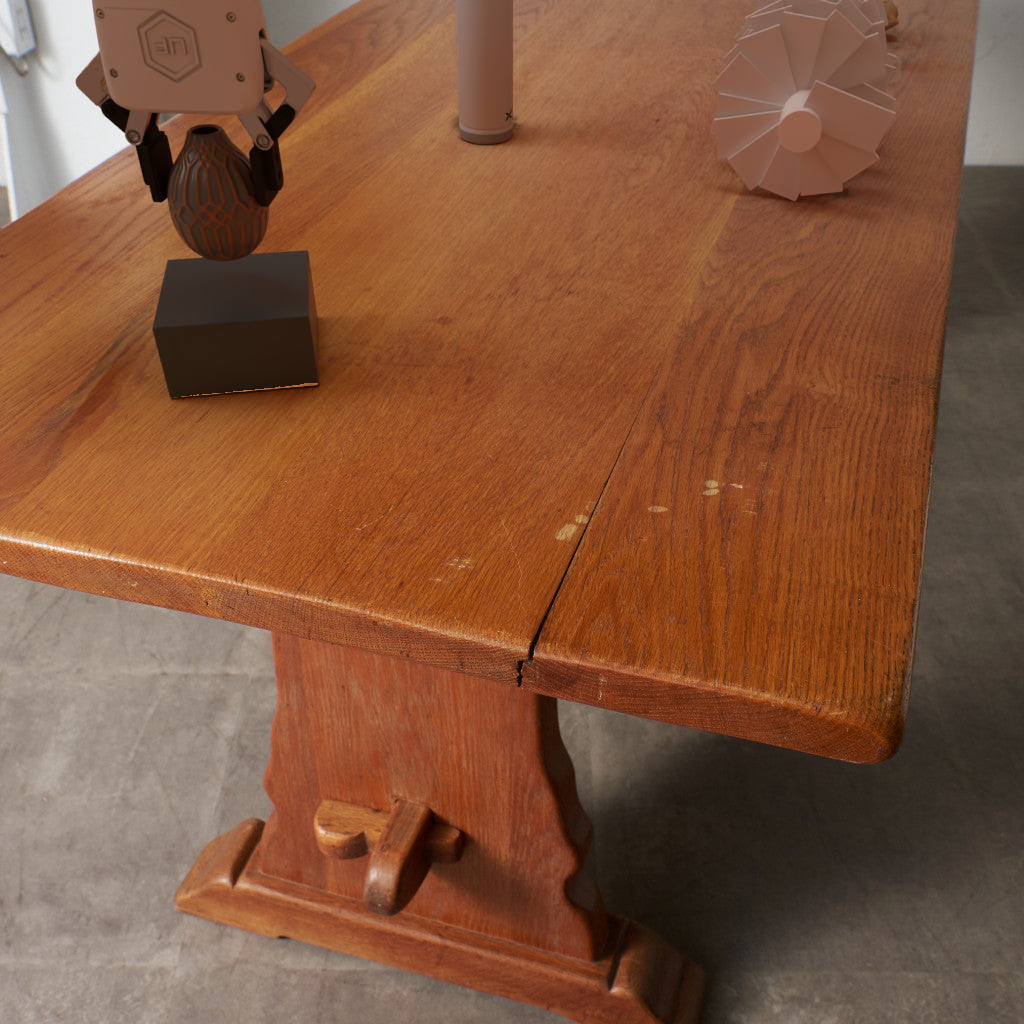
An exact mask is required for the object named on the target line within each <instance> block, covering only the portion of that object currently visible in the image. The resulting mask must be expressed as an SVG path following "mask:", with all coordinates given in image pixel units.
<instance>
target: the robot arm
mask: <svg viewBox="0 0 1024 1024" xmlns="http://www.w3.org/2000/svg"><path fill="white" fill-rule="evenodd" d="M91 5H92V11H93V20H94V26H95V31H96V38H97V44H98V51H97V52H96V54H95V55H94V56H93V58H91V60H90V61H89V62H88V64H87V65H86V66H85V67H84V68H83V69H82V71H81V72H80V73H79V74H78V75H77V77H76V78H75V86H76V87H77V89H78V90H79V91H80V92H82V94H83V95H85V97H87V99H88V100H89V101H91V102H92V103H93V104H94V105H95V106H96V107H98V108H100V110H101V113H102V115H103V116H104V117H105V118H106V119H107V120H108V121H110V122H111V123H112V124H113V125H114V126H116V128H118V129H119V130H120V131H121V132H123V133H124V138H125V140H126V141H127V142H128V143H129V144H130V145H132V146H134V147H135V151H136V155H137V159H138V163H139V166H140V167H139V168H140V171H141V176H142V180H143V183H144V185H146V186H148V187H149V191H150V196H151V199H152V202H153V203H163V202H165V201H166V200H167V186H168V178H169V174H170V171H171V168H172V166H173V164H174V160H173V155H172V150H171V145H170V141H169V136H168V135H167V134H166V131H165V130H160V128H159V126H158V124H159V121H160V117H161V114H179V115H182V114H183V115H206V116H207V115H208V116H209V115H210V116H211V115H212V116H236V117H237V118H238V119H239V121H240V123H241V124H242V126H243V127H244V129H245V131H246V132H247V133H248V136H249V137H250V138H251V140H252V144H253V146H252V147H251V149H250V150H249V151H248V158H249V159H250V165H251V171H252V177H253V183H254V188H255V194H256V200H257V204H258V205H260V207H269V208H270V205H271V204H272V203H273V202H274V200H275V198H276V197H277V195H278V194H279V192H280V191H282V189H283V187H284V183H285V182H284V181H285V179H284V177H285V176H284V172H283V171H284V170H283V164H282V157H281V151H280V144H279V139H280V138H281V136H282V135H283V134H284V132H285V131H286V130H287V129H288V128H289V127H290V126H291V125H292V123H293V122H294V121H295V119H296V118H297V117H298V115H299V114H300V113H301V112H302V110H303V108H304V107H305V105H306V104H307V103H308V101H309V100H310V98H311V97H312V95H313V94H314V93H315V91H316V89H317V84H316V82H315V80H314V79H313V78H312V77H310V75H308V74H307V73H306V72H304V70H302V69H301V68H300V67H299V66H298V65H297V64H295V63H294V62H293V61H292V60H291V59H290V58H289V57H287V56H286V55H284V53H283V52H281V51H280V50H279V49H278V48H276V47H275V46H274V45H273V44H272V43H271V41H270V36H269V30H268V26H267V23H266V18H265V17H266V16H265V13H264V8H263V4H262V0H91ZM275 81H276V82H277V83H278V84H279V85H280V86H282V87H283V89H285V92H286V94H285V98H284V99H283V100H282V102H281V103H280V105H279V106H278V107H277V109H276V110H275V111H274V108H273V107H272V106H271V104H270V103H269V101H268V99H267V98H266V96H265V95H266V94H268V93H269V92H270V91H272V90H273V89H274V86H275V83H276V82H275Z"/></svg>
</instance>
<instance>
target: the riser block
mask: <svg viewBox="0 0 1024 1024" xmlns="http://www.w3.org/2000/svg"><path fill="white" fill-rule="evenodd" d="M152 323H153V324H152V328H151V330H152V334H153V337H154V341H155V346H156V349H157V352H158V358H159V361H160V364H161V368H162V372H163V376H164V380H165V384H166V387H167V392H168V396H169V398H170V397H171V398H174V397H181V396H190V395H192V396H193V395H197V394H199V395H202V394H212V393H225V392H233V391H243V390H255V389H264V388H275V387H279V386H280V387H285V386H292V385H300V384H304V383H318V382H319V383H320V370H318V369H320V368H318V361H319V333H318V332H319V331H318V328H319V327H318V326H319V325H318V312H317V305H316V295H315V290H314V282H313V276H312V267H311V261H310V254H309V250H307V249H305V250H304V249H303V250H291V251H276V252H261V253H260V252H259V253H251V254H250V255H248V256H246V257H244V258H241V259H237V260H232V261H212V260H208V259H206V258H204V257H202V256H201V257H190V258H188V257H187V258H175V259H167V261H166V265H165V270H164V274H163V280H162V283H161V287H160V292H159V296H158V301H157V305H156V310H155V315H154V317H153V322H152ZM317 325H318V326H317ZM171 398H170V399H171Z"/></svg>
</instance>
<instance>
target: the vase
mask: <svg viewBox="0 0 1024 1024" xmlns="http://www.w3.org/2000/svg"><path fill="white" fill-rule="evenodd" d="M166 200H167V207H168V212H169V214H170V215H169V216H170V219H171V222H172V225H173V226H174V228H175V231H176V232H177V234H178V235H179V237H180V239H181V241H183V243H184V244H185V245H186V246H187V247H188V248H189V249H190V250H191V251H193V252H194V253H196V254H197V255H198V256H200V257H201V258H202V257H204V258H206V259H208V260H212V261H232V260H237V259H241V258H244V257H246V256H248V255H250V254H253V253H254V251H255V250H256V249H257V248H258V247H259V246H260V245H261V243H262V241H263V240H264V238H265V236H266V234H267V231H268V226H269V219H270V206H269V207H260V205H258V204H257V200H256V194H255V188H254V183H253V177H252V171H251V165H250V159H249V156H247V154H246V153H244V152H243V151H242V150H241V149H240V148H239V147H238V146H237V145H236V144H235V143H234V142H233V141H232V140H231V139H230V138H229V136H228V134H227V133H226V131H225V130H224V128H223V127H222V126H221V125H218V124H214V123H203V124H197V125H193V126H191V127H190V128H188V129H187V130H186V133H185V139H184V142H183V146H182V147H181V149H180V151H179V152H178V155H177V157H176V159H175V160H174V161H173V166H172V168H171V171H170V174H169V178H168V186H167V199H166Z"/></svg>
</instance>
